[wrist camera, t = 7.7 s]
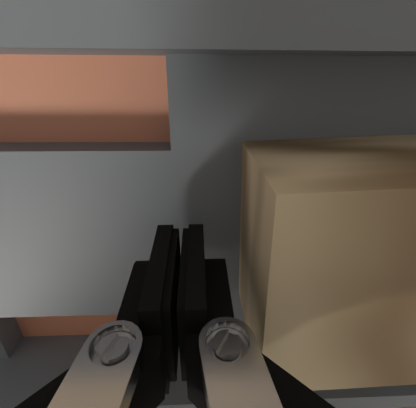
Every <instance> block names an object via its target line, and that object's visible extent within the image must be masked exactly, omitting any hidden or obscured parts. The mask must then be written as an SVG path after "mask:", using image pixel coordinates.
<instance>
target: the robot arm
mask: <svg viewBox="0 0 416 408" xmlns="http://www.w3.org/2000/svg"><path fill="white" fill-rule="evenodd" d="M178 352H180V365H181V378H182V381H187V394H188V399H189V400H190V401H191V402H192V403H193V404H194V405H195V407H196V408H335V407H334V406H332V405H331V404H330V403H328V402H327V401H326V400H324V399H323V398H322V397H320V396H319V395H318V394H316V393H315V392H313V391H312V390H311V389H309V388H308V387H307V386H305V385H304V384H303V383H301V382H300V381H299V380H297V379H296V378H295V377H293V376H292V375H291V374H289V373H288V372H287V371H285V370H284V369H283V368H281V367H280V366H279V365H277V364H276V363H275V362H273V361H272V360H271V359H269V358H268V357H266V356H265V355H264V354H262V353H261V350H260V348H259V345H258V342H257V340H256V337H255V335H254V333H253V331H252V330H251V328H250V327H249V326H248V325H247V324H246V323H244V322H243V321H241V320H239V319H237V318H234V313H233V306H232V299H231V293H230V286H229V280H228V273H227V266H226V260H225V258H223V259H205V254H204V231H203V224H189V228H183V234H182V246H181V255H180V238H179V228H173V225H158V226H157V230H156V234H155V238H154V243H153V247H152V251H151V255H150V259H149V260H147V261H135V263H134V265H133V268H132V271H131V275H130V278H129V281H128V284H127V287H126V290H125V293H124V297H123V300H122V303H121V306H120V309H119V312H118V315H117V319H116V321H112V322H109V323H106V324H104V325H102V326H100V327H98V328H97V329H96V330H95V331H94V332H92V333H91V334H90V336H89V337H88V338H87V340H86V341H85V343H84V344H83V346H82V348H81V350H80V351H79V353H78V355H77V357H76V358H75V360H74V362H73V364H72V365H71V367H70V368H69V369H67V370H66V371H65V372H63V373H62V374H60V375H59V376H58V377H56V378H55V379H53V380H52V381H51V382H49V383H48V384H46V385H45V386H44V387H42V388H41V389H40V390H38V391H37V392H35V393H34V394H33V395H31V396H30V397H28V398H27V399H26V400H24V401H23V402H21V403H20V404H19V405H17V406H16V407H14V408H157V407H158V406H159V405H160V404H161V403H162V402H163V401H164V400H165V394H169V388H170V382H176V381H177V368H178Z"/></svg>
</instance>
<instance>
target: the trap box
mask: <svg viewBox="0 0 416 408" xmlns="http://www.w3.org/2000/svg"><path fill="white" fill-rule="evenodd" d="M413 134H416V0H0V408H14V407H16V406H17V405H19V404H20V403H21V402H23V401H24V400H26V399H27V398H28V397H30V396H31V395H33V394H34V393H35V392H37V391H38V390H40V389H41V388H42V387H44V386H45V385H46V384H48V383H49V382H51V381H52V380H53V379H55V378H56V377H58V376H59V375H60V374H62V373H63V372H65V371H66V370H67V369H69V368H70V367H71V365H72V364H73V362H74V360H75V358H76V357H77V355H78V353H79V351H80V350H81V348H82V346H83V344H84V343H85V341H86V340H87V338H88V337H89V336H90V334H91V333H92V332H94V331H95V330H96V329H97V328H98V327H100V326H102V325H104V324H106V323H109V322H112V321H116V319H117V315H118V312H119V309H120V306H121V303H122V300H123V297H124V293H125V290H126V287H127V284H128V281H129V278H130V275H131V271H132V268H133V265H134V263H135V261H147V260H149V259H150V255H151V251H152V247H153V243H154V238H155V234H156V230H157V226H158V225H173V228H179V238H180V255H181V246H182V234H183V228H189V224H203V231H204V254H205V259H223V258H225V260H226V266H227V273H228V280H229V286H230V293H231V299H232V306H233V313H234V318H237V319H239V320H241V321H243V322H244V323H245V321H244V316H243V311H242V305H241V300H240V295H239V260H240V221H241V182H242V144H243V141H266V140H290V139H315V138H339V137H364V136H388V135H413ZM313 392H315V393H316V394H318V395H319V396H320V397H322V398H323V399H324V400H326V401H327V402H328V403H330V404H331V405H332V406H334V407H335V408H402V407H416V384H414V385H398V386H382V387H365V388H349V389H333V390H316V391H313ZM157 408H196V407H195V405H194V404H193V403H192V402H191V401H190V400H189V399H188V394H187V381H182V378H181V365H180V352H178V368H177V381H176V382H170V388H169V394H165V400H164V401H163V402H162V403H161V404H160V405H159V406H158V407H157Z"/></svg>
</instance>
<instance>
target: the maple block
mask: <svg viewBox="0 0 416 408" xmlns="http://www.w3.org/2000/svg"><path fill="white" fill-rule="evenodd" d="M239 295H240V300H241V305H242V311H243V316H244V321H245V323H246V324H247V325H248V326H249V327H250V328H251V330H252V331H253V333H254V335H255V337H256V340H257V342H258V345H259V348H260V350H261V353H262V354H264V355H265V356H266V357H268V358H269V359H271V360H272V361H273V362H275V363H276V364H277V365H279V366H280V367H281V368H283V369H284V370H285V371H287V372H288V373H289V374H291V375H292V376H293V377H295V378H296V379H297V380H299V381H300V382H301V383H303V384H304V385H305V386H307V387H308V388H309V389H311V390H312V391H316V390H333V389H349V388H365V387H382V386H398V385H414V384H416V134H413V135H388V136H364V137H339V138H315V139H290V140H266V141H243V144H242V182H241V221H240V260H239Z"/></svg>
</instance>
